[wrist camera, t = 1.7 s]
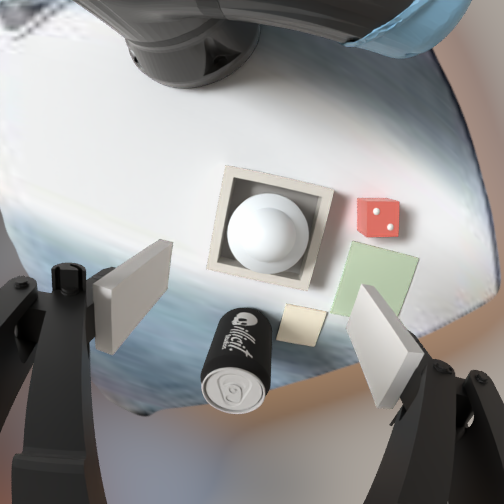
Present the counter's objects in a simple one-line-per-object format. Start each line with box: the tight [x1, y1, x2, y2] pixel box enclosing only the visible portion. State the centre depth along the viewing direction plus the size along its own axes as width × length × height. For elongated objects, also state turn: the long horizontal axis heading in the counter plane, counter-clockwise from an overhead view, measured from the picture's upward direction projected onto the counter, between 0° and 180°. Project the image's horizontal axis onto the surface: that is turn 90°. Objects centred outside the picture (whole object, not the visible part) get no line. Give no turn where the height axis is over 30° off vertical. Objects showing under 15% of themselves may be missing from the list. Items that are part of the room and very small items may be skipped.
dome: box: [227, 192, 309, 274], centre depth 28 cm, size 8×8×5 cm
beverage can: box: [201, 308, 272, 414], centre depth 30 cm, size 7×7×12 cm
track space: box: [276, 304, 327, 347], centre depth 35 cm, size 5×5×1 cm
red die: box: [357, 198, 399, 237], centre depth 29 cm, size 4×4×4 cm
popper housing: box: [206, 165, 334, 291], centre depth 31 cm, size 11×11×2 cm
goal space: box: [330, 241, 419, 317], centre depth 33 cm, size 9×9×1 cm
